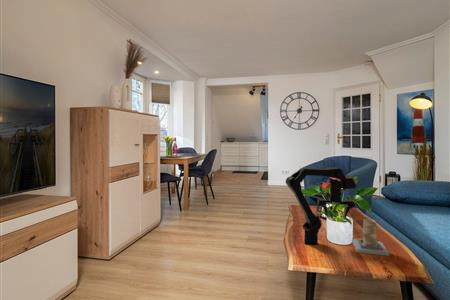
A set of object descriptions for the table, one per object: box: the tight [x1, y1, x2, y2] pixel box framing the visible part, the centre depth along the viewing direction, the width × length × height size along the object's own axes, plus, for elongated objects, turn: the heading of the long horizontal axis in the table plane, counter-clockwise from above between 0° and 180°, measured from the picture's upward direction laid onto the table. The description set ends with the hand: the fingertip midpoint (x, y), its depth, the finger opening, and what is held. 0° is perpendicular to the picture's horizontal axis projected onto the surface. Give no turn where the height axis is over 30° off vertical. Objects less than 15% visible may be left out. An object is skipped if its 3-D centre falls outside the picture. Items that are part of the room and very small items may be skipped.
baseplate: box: [351, 238, 390, 257], centre depth 129 cm, size 14×14×2 cm
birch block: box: [362, 218, 377, 247], centre depth 129 cm, size 5×5×13 cm
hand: (335, 217), depth 139 cm, fingers open, 9 cm apart
